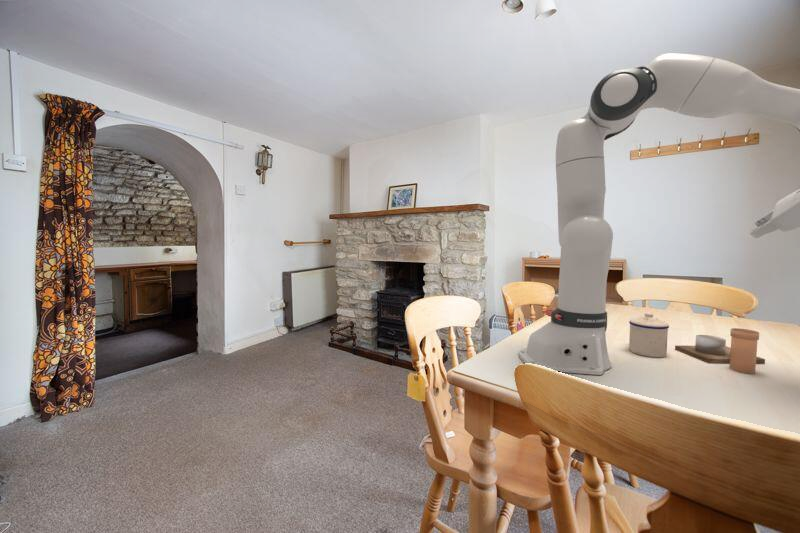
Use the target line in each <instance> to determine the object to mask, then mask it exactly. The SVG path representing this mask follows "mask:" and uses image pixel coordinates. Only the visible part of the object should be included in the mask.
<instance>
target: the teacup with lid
mask: <svg viewBox="0 0 800 533" xmlns="http://www.w3.org/2000/svg"><path fill="white" fill-rule="evenodd" d="M628 323H629V338H628V339H629V341H628V350H629V351H630V352H631V353H634V354H636V355H639V356H643V357H649V358H664V357H666V356H667V353H668V350H667V349H668V336H669V335H668V334H669V332H668V331H669V328H670V326H669V323H668V322H666V321H663V320H661V319H660V318H658V317H655V316H654V313H652V312H645V313H644V315H641V316H638V317H634V318H631V319H629V321H628Z"/></svg>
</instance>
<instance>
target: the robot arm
mask: <svg viewBox="0 0 800 533" xmlns="http://www.w3.org/2000/svg"><path fill="white" fill-rule="evenodd" d="M589 103H590V104H589V105H588V106H589V107H588V109H587V110H588V111H587V112H586V114H585V115H584V116H582V117H580V118H576V119H573V120H570V121H569V122H567V123H565V124H564V125H563V126H561V128H560V129H559V131H558V133H557V138H556V148H555V176H556V177H555V179H556V190H557V191H556V194H557V198H556V199H557V226H558V227H557V229H558V243H559V246H560V256H559V257H560V259H559V260H560V262H559V275H558V302H557V308H556V309H554V310H553V309H551V308H550V307H548V308H545V309H544V314H545V315H546V316H548V317H550V321H549V322H548V323H546V324H545V325H543V326H541V327H540V328H538V329H537V330H536V331H534V332H531V334H530V335H529V337H528V342H527V347H526V348H521V349H519V351H518V357H519V359H520V360H521V361H522V362H523V363H524V364H525V363H532V364H537V365H541V366H545V367H547V368H551V369H553V370H557V371H560V372H559V373H569V374H572V373H573V374H581V375H582V374H583V375H584V374H585V375H592V376H593V375H594V376H595V375H596V376H602V375H604V371H607V370H609V369H610V368H611V366H612V363H611V360H610V357H609V353H608V347H607V339H606V336H607V335H606V332H607V328H608V311H606V307H607V306H606V304H607V303H606V302H607V283H608V282H607V280H608V273H609V269H610V263H611V255H612V247H613V239H614V233H613V229H612V227H611V225H610V223H609V222H608V221H607V220H605V218H604V216H605V215H604V213H605V211H604V210H605V199H606V192H607V191H606V173H605V172H606V171H605V169H606V167H605V154H604V152H605V151H604V144H605V141H607V140H608V139H610V138H613V137H615V136H617V135H619V134H621V133H623V132H625V131H627V129H629V127H631V126H632V124H633V123H634V122H635V120H636V118H637V116H638V115H639V113H640V112H641V111H644V110H645V109H652V108H653V109H654V108H658V109H664V110H666V111H667V110H668V111H671V112H674V113H677V114H680V115H683V116H684V115H685V116H689V117H696V118H701V119H716V118H720V117H725V116H728V115H734V114H735V115H737V114H744V115H745V114H746V115H751V116H756V117H760V118H764V119H767V120H773V121H777V122H781V123H784V124H789V125H791V126H793V127H794V128H796V129H797V130H798V131H799V132H800V88H798V87H797V88H796V87H792V86H787V85H782V84H777V83H774V82H771V81H769V80H765V79H763V78H762V77H760V76H759V75H757V74H756V73H754V72H753V71H752V70H750V69H748V68H746V67H744V66H743V65H740V64H738V63H735V62H732V61H729V60H726V59H723V58H719V57H718V58H717V57H714V56H713V57H712V56H708V55H701V54H694V53H693V54H692V53H682V52H681V53H678V52H675V53H673V52H671V53H670V52H668V53H663V54H660V55H658V56H656V57H654V59H652V60H651V61H650V62H649V63H648V64H647V65H646V66H638V67H634V68H623V69H618V70H615V71H612V72H610V73H608V74H607V75H605V76H604V77H603V78H602V79H600V81H599V82H598V83H597V85H596V86H595V88H594V89H593V91H592V93H591V96H590V102H589ZM775 203H776V204H775V206H774V208H773V210H771V211H769V212H768V213H766V214H765V215H764V216H762V217H761V218H759V219H758V220H757V219H756V220H755V222H754V224H755V225H754V226H756V228H754V229H752V230H750V235H751V236H752V237H754V238H755V239H758V238H761V237H762V236H764V235H767V234H769V233H772V232H775V231H777V230H781V231H782V232H784V233H787V232H789V231H793V230H795V229H798V228H800V188H799V189H797V190H795V191H793V192H792V193H790V194H788V195H786V196H785V197H783V198H781V199H780V200H778V201H777V202H775Z"/></svg>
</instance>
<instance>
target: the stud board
mask: <svg viewBox="0 0 800 533" xmlns="http://www.w3.org/2000/svg"><path fill="white" fill-rule="evenodd" d="M726 343H727V339H725V338H723V337H720V336H714V335H708V334H697V335H695V344H694V345H675V346H674V350H675V351H677V352H680V353H683V354H686V355H688V356H690V357H693V358H695V359H697V360H700V361H702V362H705V363H707V364H730V350H731V346H726V345H727V344H726ZM756 364H758V365H760V364H761V365H762V364H763V365H765V364H766V359H765V358H762V357H760V356H757V355H756Z"/></svg>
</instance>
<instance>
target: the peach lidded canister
mask: <svg viewBox="0 0 800 533" xmlns="http://www.w3.org/2000/svg"><path fill="white" fill-rule="evenodd" d="M729 334H730V338H731V339H730V348H731V350H730V363H729V369H730V370H731V371H734V372H737V373H741V374H748V375H753V374H756V367H757V365H756V356H757V352H758V341H759V340H760V332H759V331H757V330H753V329H746V328H739V327H738V328H736V327H735V328H734V327H733V328H730V332H729Z"/></svg>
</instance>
